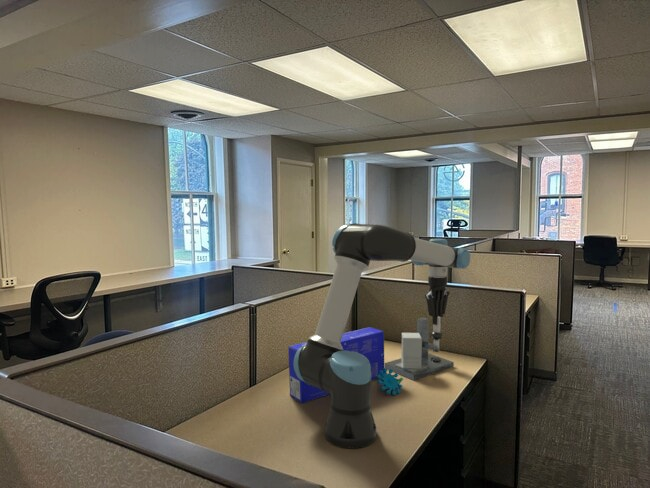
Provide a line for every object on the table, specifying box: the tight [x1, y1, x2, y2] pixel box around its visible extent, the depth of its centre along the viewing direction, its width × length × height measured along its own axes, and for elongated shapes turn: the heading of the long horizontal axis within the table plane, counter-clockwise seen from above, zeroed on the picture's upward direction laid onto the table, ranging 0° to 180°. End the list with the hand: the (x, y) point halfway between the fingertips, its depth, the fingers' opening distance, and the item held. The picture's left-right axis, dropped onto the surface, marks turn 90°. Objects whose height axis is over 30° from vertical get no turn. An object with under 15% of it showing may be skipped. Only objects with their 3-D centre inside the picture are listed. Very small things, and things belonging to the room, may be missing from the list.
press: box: [384, 317, 455, 381], centre depth 176 cm, size 24×16×18 cm, turn 126°
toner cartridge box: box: [287, 326, 385, 404], centre depth 158 cm, size 39×8×18 cm, turn 125°
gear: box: [377, 367, 404, 396], centre depth 155 cm, size 11×6×10 cm
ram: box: [429, 330, 444, 353], centre depth 179 cm, size 5×5×8 cm
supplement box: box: [400, 332, 422, 369], centre depth 172 cm, size 7×7×13 cm
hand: (436, 331), depth 179 cm, fingers closed
